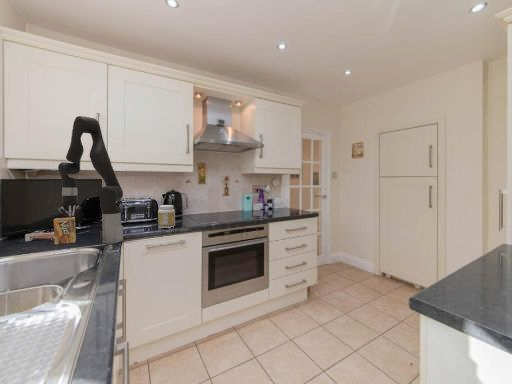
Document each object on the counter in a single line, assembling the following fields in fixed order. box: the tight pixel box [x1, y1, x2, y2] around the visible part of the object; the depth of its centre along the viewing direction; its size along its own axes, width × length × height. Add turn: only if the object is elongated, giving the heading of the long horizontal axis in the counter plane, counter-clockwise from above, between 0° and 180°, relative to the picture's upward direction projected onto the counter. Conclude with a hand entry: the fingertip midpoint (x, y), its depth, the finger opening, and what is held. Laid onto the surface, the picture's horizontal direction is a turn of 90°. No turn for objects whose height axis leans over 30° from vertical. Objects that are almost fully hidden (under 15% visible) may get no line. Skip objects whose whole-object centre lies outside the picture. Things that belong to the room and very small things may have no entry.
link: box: [30, 231, 55, 240], centre depth 138 cm, size 22×5×3 cm, turn 86°
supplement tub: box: [157, 204, 176, 229], centre depth 177 cm, size 12×12×17 cm
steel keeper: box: [24, 230, 44, 242], centre depth 135 cm, size 10×11×4 cm
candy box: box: [53, 216, 77, 246], centre depth 128 cm, size 9×4×15 cm, turn 122°
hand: (70, 222), depth 144 cm, fingers closed
